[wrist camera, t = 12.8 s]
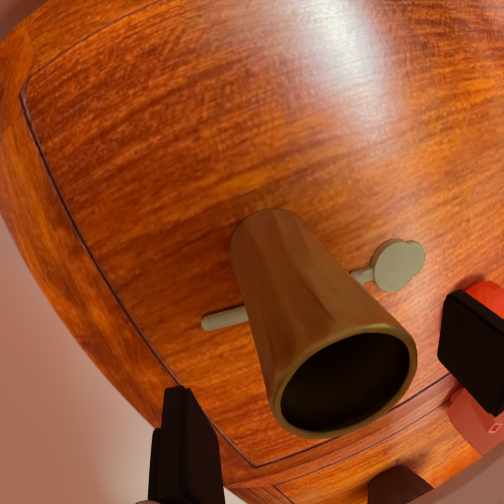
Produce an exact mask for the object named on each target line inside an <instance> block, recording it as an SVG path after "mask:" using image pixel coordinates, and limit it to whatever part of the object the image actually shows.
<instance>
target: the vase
mask: <svg viewBox="0 0 504 504" xmlns="http://www.w3.org/2000/svg"><path fill="white" fill-rule="evenodd" d="M229 259H230V263H231V267H232V269H233V271H234V273H235V276H236V279H237V282H238V286H239V289H240V292H241V295H242V298H243V301H244V305H245V308H246V312H247V316H248V320H249V323H250V327H251V331H252V335H253V338H254V342H255V345H256V349H257V352H258V356H259V360H260V365H261V369H262V373H263V378H264V382H265V387H266V392H267V397H268V402H269V404H270V407H271V410H272V413H273V415H274V417H275V419H276V421H277V422H278V424H279V425H280V426H281V427H282V428H283V429H285V430H286V431H288V432H290V433H292V434H295V435H297V436H300V437H303V438H308V439H326V438H332V437H337V436H341V435H345V434H349V433H351V432H354V431H357V430H359V429H361V428H364V427H366V426H368V425H370V424H371V423H373V422H375V421H376V420H378V419H379V418H380V417H382V416H383V415H384V414H386V413H387V412H388V411H389V410H390V409H391V408H392V407H393V406H394V405H395V404H396V403H397V402H398V401H399V400H400V399H401V398H402V397H403V396H404V394H405V393H406V391H407V390H408V388H409V386H410V384H411V382H412V380H413V378H414V376H415V373H416V369H417V349H416V344H415V342H414V340H413V338H412V336H411V335H410V334H409V333H408V331H407V330H406V329H405V328H404V327H403V326H402V325H401V324H400V323H399V322H398V321H397V320H396V319H395V318H394V317H393V316H392V315H391V314H390V313H389V312H388V311H387V310H386V309H385V308H383V307H382V306H381V304H380V303H379V302H378V301H377V300H376V299H375V298H374V297H373V296H372V295H371V294H370V293H369V292H368V291H367V290H366V289H365V288H364V287H363V286H362V285H361V284H360V283H359V282H358V281H357V280H356V279H355V278H353V276H352V275H351V274H350V273H349V272H347V271H346V270H345V269H344V268H343V267H342V266H341V265H340V264H339V263H338V261H337V260H336V259H335V258H334V257H333V256H332V254H331V253H330V252H329V251H328V249H327V248H326V247H325V246H324V245H323V244H322V243H321V241H320V240H319V239H318V238H317V237H316V236H315V234H314V233H313V232H312V231H311V230H310V229H309V227H308V226H307V225H306V224H305V222H304V221H303V220H302V219H300V218H299V217H298V216H297V215H295V214H294V213H292V212H289V211H286V210H280V209H266V210H262V211H259V212H256V213H254V214H252V215H250V216H249V217H247V218H246V219H244V220H243V221H242V222H241V223H240V225H239V226H238V227H237V229H236V230H235V232H234V233H233V236H232V238H231V241H230V245H229Z"/></svg>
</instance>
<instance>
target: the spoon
mask: <svg viewBox="0 0 504 504" xmlns="http://www.w3.org/2000/svg"><path fill="white" fill-rule="evenodd" d="M424 262H425V250H424V248H423V246H422V245H421V244H419V243H418V242H416V241H407V242H405V241H403V240H401V239H391V240H388V241H386V242H384V243H383V244H382V245H381V246H379V247H378V249H377V250H376V251H375V253H374V255H373V257H372V259H371V262H370V266H368V267H365V268H362V269H359V270H356V271H353V272H351V275H352V276H353V278H355V279H356V280H357V281H358V282H359V283H360V284H361V285H364V283H365V282H367V281H370V280H372V281H373V282H374V283H375V284H376V285H377V286H378V287H379V288H380V289H381V290H383V291H386V292H395V291H398V290H401V289H402V288H404V287H405V286H406V285H407V284H408V283H409V282H410V281H411V280H412V278H413V276H415V275H416V274H417V273H419V271H420V270H421V269H422V267H423V265H424ZM246 321H249V320H248V316H247V312H246V308H245V305H244V306H241V307H237V308H233V309H230V310H226V311H222V312H218V313H215V314H211V315H207V316H205V317H203V318H202V320H201V326H202V328H203V329H204V330H206V331H212V330H216V329H220V328H224V327H228V326H231V325H235V324H239V323H243V322H246Z"/></svg>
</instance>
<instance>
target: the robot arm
mask: <svg viewBox="0 0 504 504" xmlns="http://www.w3.org/2000/svg"><path fill="white" fill-rule="evenodd" d="M437 356H438V359H439V361H440V362H441V363H442V364H443V365H444V366H445V367H446V368H447V370H448V371H449V372H450V373H451V374H452V375H453V376H454V377H455V378H456V379H457V380H458V381H459V382H460V383H461V385H462V386H463V387H464V388H465V389H466V390H467V391H468V392H469V393H470V394H471V396H472V397H473V398H474V399H475V400H476V401H477V402H478V403H479V404H480V406H481V407H482V408H483V409H484V410H485V411H486V412H487V413H489V414H492V415H493V416H494V417H495V418H496V417H497V416H498V415H500V414H501V413H502V412H503V411H504V319H503V318H501V317H500V316H499V315H497V314H496V313H494V312H493V311H492V310H490V309H489V308H488V307H486V306H485V305H483V304H482V303H481V302H479V301H478V300H476V299H475V298H473V297H472V296H471V295H469V294H468V293H466V292H465V291H463V290H461V289H458V290H456V291H454V292H452V293H450V294H448V295H447V296H446V299H445V301H444V304H443V314H442V323H441V331H440V338H439V345H438V352H437ZM136 504H225V496H224V488H223V480H222V471H221V462H220V453H219V443H218V438H217V435H216V433H215V431H214V430H213V428H212V426H211V425H210V423H209V421H208V419H207V418H206V416H205V414H204V413H203V411H202V409H201V407H200V406H199V404H198V402H197V400H196V398H195V397H194V395H193V393H192V391H191V389H190V388H187V389H185V388H184V386H182V385H180V386H175V387H170V388H166V389H165V392H164V402H163V413H162V425H161V428H156V429H155V430H154V431H153V435H152V445H151V457H150V470H149V485H148V500H145V501H140V502H138V503H136ZM407 504H504V440H503V441H502V442H501V443H500V444H498V445H497V446H496V447H495V448H493V449H492V450H491V451H489V452H488V453H487V454H486V455H484V456H483V457H482V458H480V459H479V460H477V461H476V462H475V463H473V464H472V465H470V466H469V467H467V468H466V469H465V470H463V471H462V472H460V473H459V474H457V475H456V476H454V477H452V478H451V479H449V480H448V481H446V482H444V483H443V484H441V485H440V486H438V487H436V488H434V489H433V490H431V491H429V492H427V493H426V494H424V495H422V496H420V497H418V498H417V499H415V500H413V501H411V502H409V503H407Z"/></svg>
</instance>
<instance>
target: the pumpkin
mask: <svg viewBox="0 0 504 504" xmlns="http://www.w3.org/2000/svg"><path fill="white" fill-rule="evenodd" d="M465 292H466V293H468V294H469V295H471V296H472V297H473V298H475V299H476V300H478V301H479V302H481V303H482V304H483V305H485V306H486V307H488V308H489V309H490V310H492V311H493V312H494V313H496V314H497V315H499V316H500V317H501V318H503V319H504V289H503V288H502V287H500V286H499V285H498V284H496V283H494V282H491V281H486V282H483V283H480V284H477V285H474V286H472V287H470V288H468V289H467V290H466V291H465Z"/></svg>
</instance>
